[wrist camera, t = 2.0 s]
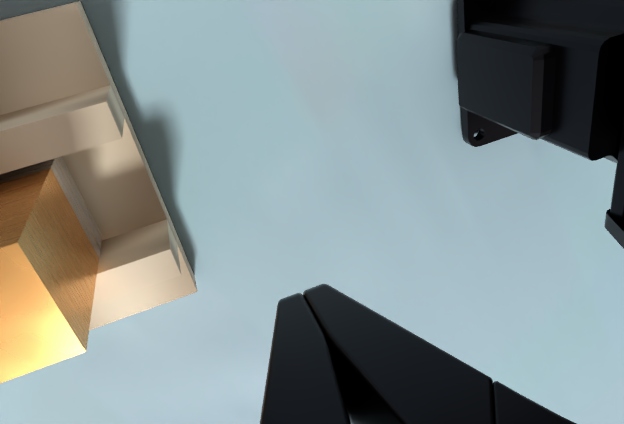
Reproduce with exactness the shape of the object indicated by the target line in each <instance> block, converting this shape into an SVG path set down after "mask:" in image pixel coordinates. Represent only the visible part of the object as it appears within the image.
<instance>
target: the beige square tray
mask: <svg viewBox="0 0 624 424" xmlns="http://www.w3.org/2000/svg"><path fill="white" fill-rule="evenodd" d="M61 156H62V158H63V160H64V162H65V164H66V166H67V168H68V170H69V172H70V174H71V176H72V178H73V180H74V182H75V184H76V186H77V187H78V189H79V191H80V193H81V195H82V197H83V199H84V201H85V203H86V205H87V207H88V209H89V211H90V213H91V215H92V217H93V219H94V221H95V223H96V225H97V226H98V228H99V230H100V232H101V234H102V242H101V249H100V256H99V263H98V270H97V277H96V284H95V291H94V298H93V305H92V312H91V320H90V327H89V330H92V329H95V328H97V327H100V326H103V325H106V324H109V323H111V322H114V321H117V320H120V319H123V318H125V317H128V316H131V315H134V314H136V313H139V312H142V311H145V310H148V309H150V308H153V307H156V306H159V305H162V304H164V303H167V302H170V301H173V300H175V299H178V298H181V297H184V296H187V295H189V294H192V293H195V292H197V287H196V281H195V276H194V274H193V271H192V269H191V267H190V264H189V262H188V259H187V257H186V255H185V252H184V250H183V247H182V245H181V242H180V240H179V238H178V235H177V233H176V230H175V228H174V226H173V223H172V221H171V218H170V216H169V214H168V211H167V209H166V206H165V204H164V202H163V199H162V197H161V194H160V192H159V189H158V187H157V185H156V182H155V180H154V177H153V175H152V173H151V170H150V168H149V165H148V163H147V161H146V158H145V156H144V153H143V151H142V148H141V146H140V144H139V141H138V139H137V136H136V134H135V132H134V129H133V127H132V124H131V122H130V120H129V117H128V115H127V112H126V110H125V108H124V105H123V103H122V100H121V98H120V95H119V93H118V91H117V88H116V86H115V83H114V81H113V79H112V76H111V74H110V71H109V69H108V67H107V64H106V62H105V59H104V57H103V54H102V52H101V50H100V47H99V45H98V42H97V40H96V38H95V35H94V33H93V30H92V28H91V26H90V23H89V21H88V18H87V16H86V14H85V11H84V9H83V6H82V4H81V1H78V2H74V3H69V4H65V5H61V6H57V7H53V8H49V9H44V10H40V11H36V12H32V13H28V14H24V15H20V16H15V17H11V18H7V19H3V20H0V174H3V173H6V172H10V171H13V170H16V169H20V168H23V167H27V166H30V165H34V164H37V163H40V162H44V161H47V160H51V159H54V158H57V157H61Z"/></svg>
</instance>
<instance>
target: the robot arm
mask: <svg viewBox="0 0 624 424" xmlns="http://www.w3.org/2000/svg"><path fill="white" fill-rule="evenodd" d="M457 14H458V39H457V41H456V47H457V70H458V94H459V105H460V106H461V113H462V136H463V140H464V141H465V142H466V143H468V144H470V145H472V146H474V147H478V146H482V145H485V144H488V143H491V142H493V141H496V140H499V139H502V138H505V137H508V136H511V135H514V134H517V133H520V134H522V135H524V136H527V137H529V138H531V139H534V140H537V139H542V140H545V141H547V142H549V143H552V144H554V145H556V146H559V147H561V148H563V149H566V150H568V151H570V152H573V153H575V154H577V155H580V156H582V157H584V158H587V159H589V160H591V161H593V160H598V159H601V158H606V159H608V160H611V161H613V162H616V163H617V167H616V174H615V181H614V188H613V195H612V202H611V209H609V210H607V212H606V219H605V228H606V229H607V230H608V231H609V233H610V234H611V235H612V236H613V237H614V238H615V239H616V240H617V241H618V243H619V244H620V245H621V246H622V247H623V248H624V0H457ZM478 129H479V132H478V134H477V136H475V137H474V133H475V132H476V130H478ZM260 424H576V423H574V422H572V421H570V420H568V419H566V418H564V417H562V416H560V415H558V414H556V413H554V412H552V411H550V410H548V409H546V408H545V407H543V406H541V405H539V404H537V403H535V402H533V401H532V400H530V399H528V398H526V397H524V396H522V395H520V394H519V393H517V392H515V391H513V390H512V389H510V388H508V387H506V386H505V385H503V384H501V383H499V382H498V381H495V382H494V383H493V381H492V379H491V378H490V377H488V376H487V375H485V374H483V373H481V372H480V371H478V370H476V369H474V368H473V367H471V366H469V365H467V364H466V363H464V362H462V361H460V360H459V359H457V358H455V357H453V356H452V355H450V354H448V353H446V352H445V351H443V350H441V349H439V348H438V347H436V346H434V345H432V344H431V343H429V342H427V341H425V340H424V339H422V338H420V337H418V336H417V335H415V334H413V333H411V332H410V331H408V330H406V329H404V328H403V327H401V326H399V325H397V324H395V323H394V322H392V321H390V320H388V319H387V318H385V317H383V316H381V315H380V314H378V313H376V312H374V311H373V310H371V309H369V308H367V307H366V306H364V305H362V304H360V303H359V302H357V301H355V300H353V299H352V298H350V297H348V296H346V295H345V294H343V293H341V292H339V291H338V290H336V289H334V288H332V287H331V286H329V285H327V284H321V285H319V286H316V287H313V288H310V289H308V290H305V291H304V293H303V295H302V294H301V293H297V294H294V295H291V296H289V297H286V298H283V299H281V300H280V301H279V302H278V306H277V313H276V319H275V326H274V333H273V339H272V346H271V353H270V359H269V366H268V373H267V379H266V386H265V393H264V399H263V406H262V413H261V419H260Z"/></svg>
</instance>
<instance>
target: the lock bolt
mask: <svg viewBox="0 0 624 424" xmlns="http://www.w3.org/2000/svg"><path fill="white" fill-rule="evenodd" d="M101 242H102V234H101V232H100V230H99V228H98V226H97V225H96V223H95V221H94V219H93V217H92V215H91V213H90V211H89V209H88V207H87V205H86V203H85V201H84V199H83V197H82V195H81V193H80V191H79V189H78V187H77V186H76V184H75V182H74V180H73V178H72V176H71V174H70V172H69V170H68V168H67V166H66V164H65V162H64V160H63V158H62V156H61V157H57V158H54V159H51V160H47V161H44V162H40V163H37V164H34V165H30V166H27V167H23V168H20V169H16V170H13V171H10V172H6V173H3V174H0V383H2V382H5V381H8V380H10V379H13V378H16V377H18V376H21V375H24V374H27V373H29V372H32V371H35V370H38V369H40V368H43V367H46V366H49V365H51V364H54V363H57V362H59V361H62V360H65V359H68V358H70V357H73V356H76V355H79V354H81V353H84V352H86V348H87V341H88V334H89V327H90V320H91V312H92V305H93V298H94V291H95V284H96V277H97V270H98V263H99V256H100V249H101Z"/></svg>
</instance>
